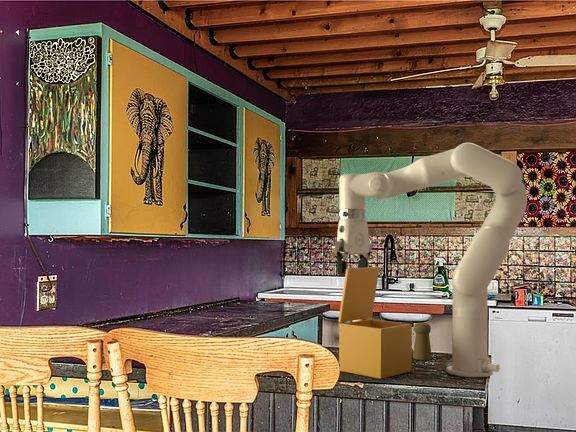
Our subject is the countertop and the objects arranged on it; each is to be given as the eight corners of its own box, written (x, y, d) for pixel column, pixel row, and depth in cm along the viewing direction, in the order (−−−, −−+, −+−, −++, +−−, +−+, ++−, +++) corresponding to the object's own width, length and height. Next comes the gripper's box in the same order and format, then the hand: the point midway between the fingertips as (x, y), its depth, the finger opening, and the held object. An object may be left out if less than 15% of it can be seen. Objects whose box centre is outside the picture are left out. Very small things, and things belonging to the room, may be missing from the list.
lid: (379, 267, 202) (366, 263, 206) (348, 269, 192) (335, 265, 195) (371, 318, 204) (358, 313, 207) (340, 322, 193) (327, 317, 197)
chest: (411, 371, 194) (412, 324, 194) (380, 378, 183) (381, 329, 183) (370, 363, 204) (370, 319, 204) (338, 370, 193) (339, 323, 194)
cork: (430, 360, 210) (430, 324, 211) (410, 359, 212) (411, 323, 213) (433, 357, 216) (433, 322, 216) (414, 355, 218) (414, 321, 218)
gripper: (343, 215, 192) (343, 276, 191) (380, 216, 204) (380, 273, 204) (323, 215, 197) (323, 275, 197) (360, 216, 209) (361, 272, 209)
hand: (352, 274), depth 200 cm, fingers open, 9 cm apart
